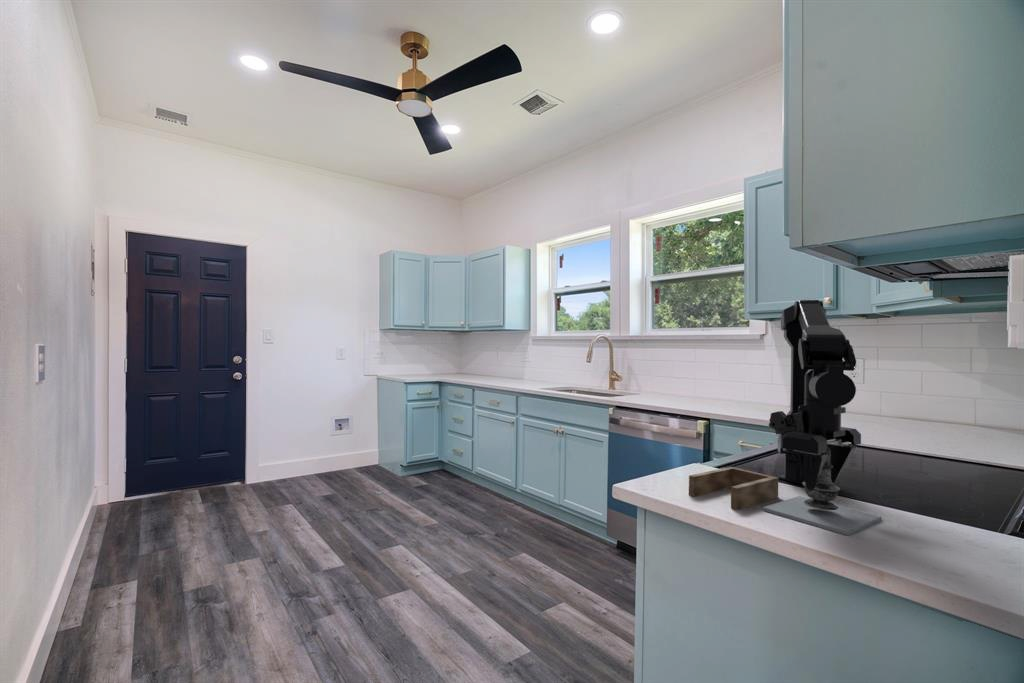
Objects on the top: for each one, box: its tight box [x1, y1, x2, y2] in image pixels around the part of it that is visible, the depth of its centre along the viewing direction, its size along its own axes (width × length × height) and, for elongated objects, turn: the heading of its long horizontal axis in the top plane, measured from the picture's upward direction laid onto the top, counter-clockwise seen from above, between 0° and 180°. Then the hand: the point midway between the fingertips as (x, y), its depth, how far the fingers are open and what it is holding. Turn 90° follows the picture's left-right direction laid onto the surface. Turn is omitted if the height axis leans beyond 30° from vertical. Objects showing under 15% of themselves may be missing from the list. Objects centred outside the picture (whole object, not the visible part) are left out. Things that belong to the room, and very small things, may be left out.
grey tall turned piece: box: [801, 447, 841, 510], centre depth 88 cm, size 6×6×12 cm
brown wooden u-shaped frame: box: [688, 466, 779, 511], centre depth 98 cm, size 15×10×4 cm
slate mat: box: [762, 495, 883, 536], centre depth 88 cm, size 14×14×1 cm
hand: (821, 485), depth 88 cm, fingers closed on grey tall turned piece, 8 cm apart
